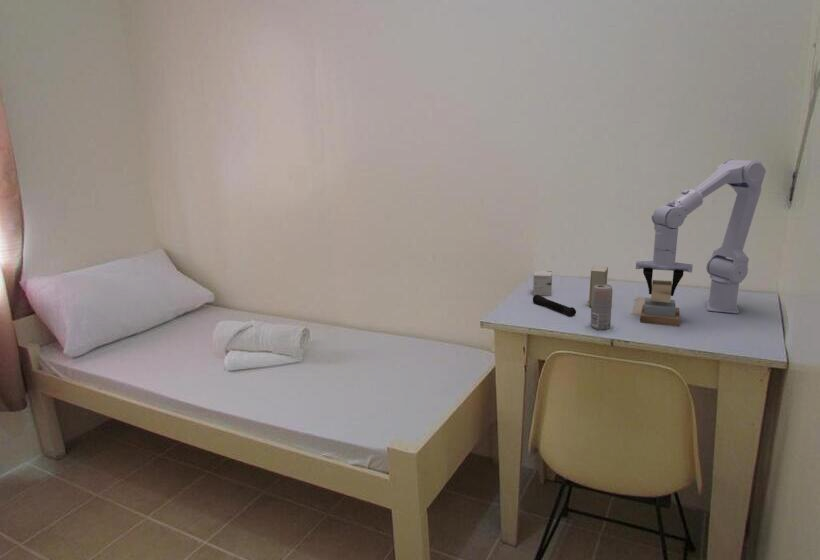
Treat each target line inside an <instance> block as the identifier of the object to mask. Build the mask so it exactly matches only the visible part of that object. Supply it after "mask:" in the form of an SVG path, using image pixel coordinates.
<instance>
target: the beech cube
mask: <svg viewBox="0 0 820 560" xmlns="http://www.w3.org/2000/svg"><path fill="white" fill-rule="evenodd" d="M672 282H673V280H662V279H661V280H660V279H652V294H650V295H651V297H650V298H651V301H656V302H668V303H670V300H672V299H671V297H672V296H671V289H672Z"/></svg>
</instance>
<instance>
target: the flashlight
mask: <svg viewBox="0 0 820 560" xmlns="http://www.w3.org/2000/svg"><path fill="white" fill-rule="evenodd" d="M532 302H533V303H534V304H536V305H539V306H544V307H547V308H550V309H552V310H555V311H557V312H560V313H562V314H564V315H567V316H568V317H570V318H571V317H575V316H576V313H577V309H575V308H574V307H573V306H571V307H569V306H567V305H564V304H561V303H558V302H556V301H554V300H550V299H548V298H546V297H544V296H543V295H533V297H532Z"/></svg>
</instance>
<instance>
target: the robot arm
mask: <svg viewBox="0 0 820 560" xmlns="http://www.w3.org/2000/svg"><path fill="white" fill-rule="evenodd" d="M766 173H767V171H766V168H765V166H764V165H763V163H762V162H761V161H759V160H756V159H755V160H747V159H746V160H743V159H733V158H730V159H729V158H728V159H725V160H724V161H723V162H722V163H721V164H718V165H717V168H716V170H715V171H714V172H713V173H712V174H710V175H709V176H708V177H707V178H706V179H704V180H703V181H702V182H701V183H700V184H698V185H697V187H695V188H687V189H683V190H681V193H680V194H679V195H678V196H676V197H675V198H674V199H672V200H669V201H668V203H666V205H663V204H662V205H660V206H658V207H657V208H656V209H655V210H654V212H653V213H652V215H651V221H652V223H653V225H654V231H655V234H654V245H653V256H652V260H648V261H646V260H642V261H639V260H637V261H636V262H635V270H640V269H642V273H643V276H644V278H645V281H646V284H647V287H648V294H649V295H651V294H652V283H653V274H654V271H653V270H656V271H658V270H659V271H673V273H672V289H671V297H674V295H675V291H676V288H677V286H678V284H679V283H680V282H681V279H682V278H683V277H684V272H687V273H692V272H693V267H694V266H693V264H692V263H682V262H676V258H677V257H676V256H677V245H678V235H679V227H681V226H682V225H683V224H684V222H685V219H686V218H687V217H688V215H689V214H691V213H692V212H694V211H695V210H696V209H698V208H699V207H700V206H702V205H703V202H704V199H705V198H706V197H708V196H709V195H710V194H712V193H714V192H716V190H718V189H720V188H722V187H723V186H725V185H728V186H730V187H731V188H732V189H733V190H734V192H735V193H736V197H735V201H734V205H733V207H732V211H731V214H730V218H729V222H728V223H727V227H726V230H725V231H726V232H725V234H724V237H723V242H722V244H721V246H720V247H718V248H717V249H714V250H713V252H712V254H711V256H710V258H709V260H708V261H707V263H706V272H707V274H709V279H710V281H711V282H710V288H709V299H705V303H706V309H707V311H709V312H717V313H730V314H739V313H740V312H739V309H738V305H737V304H738V295H739V288H740V284H741V283H742V282H743V281H744V280H745V278H746V277H747V276H748V273H749V267H748V265H749V264H748V263H749V260H750V258H749V257H748V255H747V254H746V252H745V251H744V248H745V244H746V241H747V238H748V234H749V231H750V228H751V225H752V222H753V220H754V219H753V217H754V215H755V213H756V209H757V205H758V202H759V198H760V195H761V193H762V185H763V182H764V180H765V179H764V178H765V175H766Z"/></svg>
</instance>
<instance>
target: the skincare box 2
mask: <svg viewBox="0 0 820 560" xmlns="http://www.w3.org/2000/svg"><path fill="white" fill-rule="evenodd" d="M608 273H609V266H605V265H594V266H593V267H592V268H591V270H590V277H589V278H590V280H589V296H588V299H589V300H588V307H591V306H592V289H593V286H594V285H596V284H607V285H608V276H609V275H608Z"/></svg>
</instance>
